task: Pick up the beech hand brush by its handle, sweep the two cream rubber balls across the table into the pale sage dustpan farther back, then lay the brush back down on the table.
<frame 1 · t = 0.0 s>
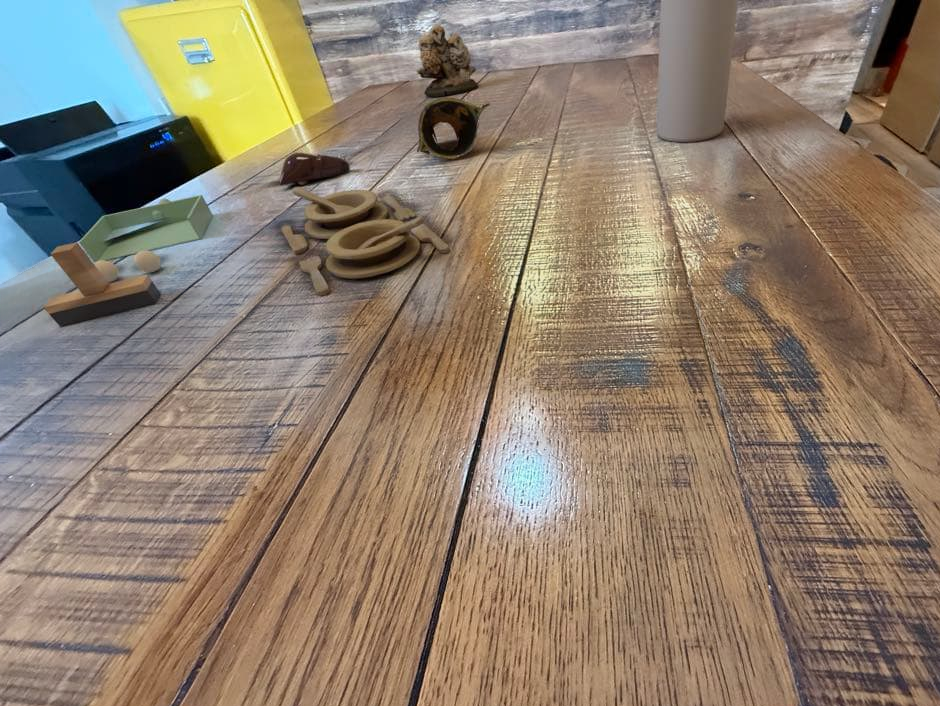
cylinder vase: (689, 134, 99), on the table
ball a: (147, 261, 77), point 2 cm above the table
owl figurine: (450, 92, 159), on the table
ball b: (104, 271, 76), point 2 cm above the table
dustpan: (157, 237, 90), on the table
pot: (455, 153, 108), on the table
tableware set: (362, 241, 78), on the table
brush: (112, 309, 70), on the table
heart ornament: (319, 179, 105), on the table
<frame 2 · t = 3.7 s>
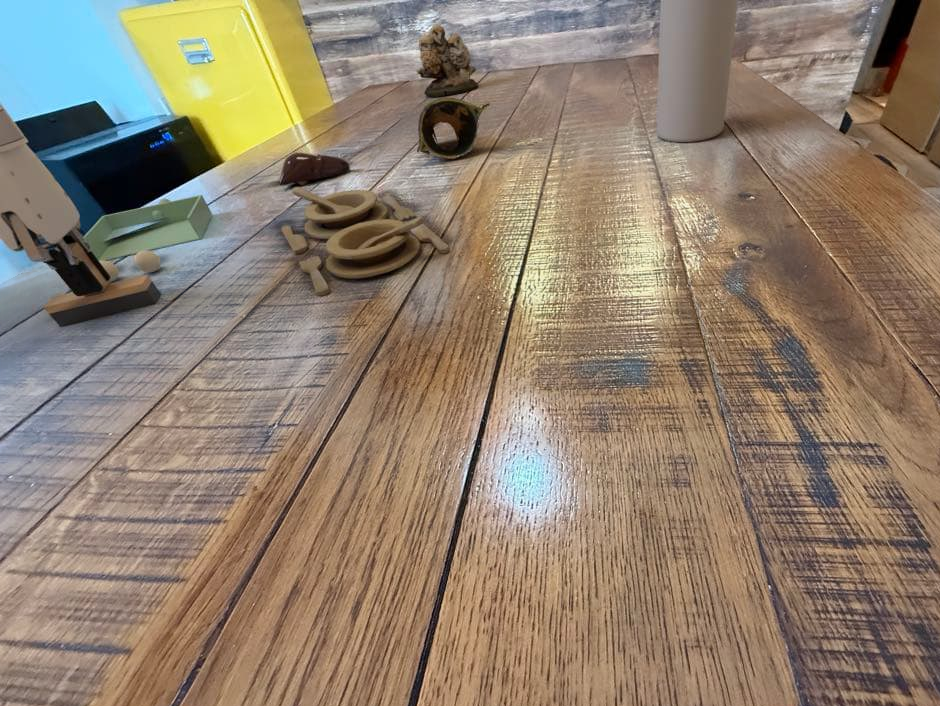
hand: (93, 286, 68), 4 cm above the table, tool pointing down, fingers closed on brush, 2 cm apart
brush: (112, 309, 70), on the table, touching gripper
everything else where it was.
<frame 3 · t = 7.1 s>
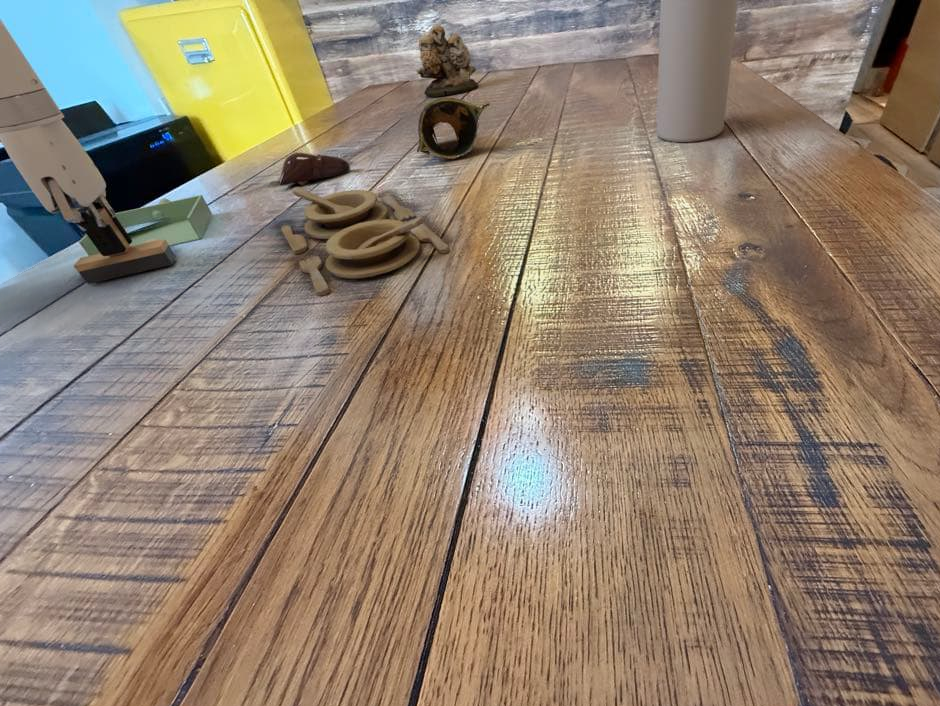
hand: (117, 248, 76), 4 cm above the table, tool pointing down, fingers closed on brush, 2 cm apart
ball a: (156, 249, 81), point 2 cm above the table, tilted 164°
ball b: (115, 257, 80), point 2 cm above the table, tilted 179°
brush: (133, 270, 79), on the table, touching gripper
everything else where it was.
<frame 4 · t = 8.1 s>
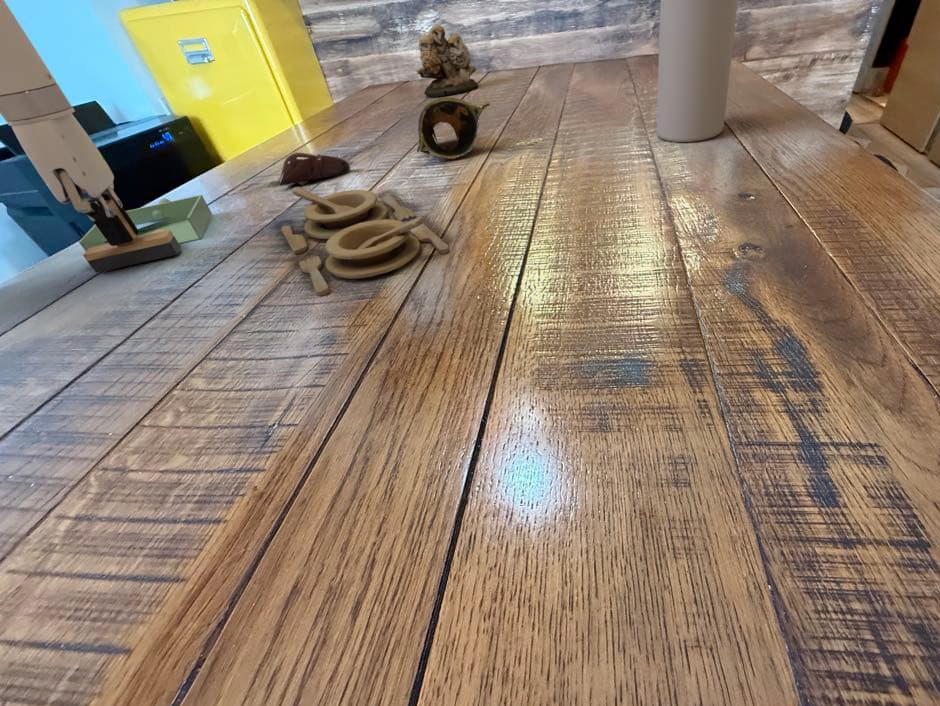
hand: (125, 238, 79), 4 cm above the table, tool pointing down, fingers closed on brush, 2 cm apart
ball a: (163, 239, 84), point 2 cm above the table, tilted 46°
ball b: (123, 247, 83), point 2 cm above the table, tilted 31°
brush: (139, 259, 82), on the table, touching gripper
everything else where it was.
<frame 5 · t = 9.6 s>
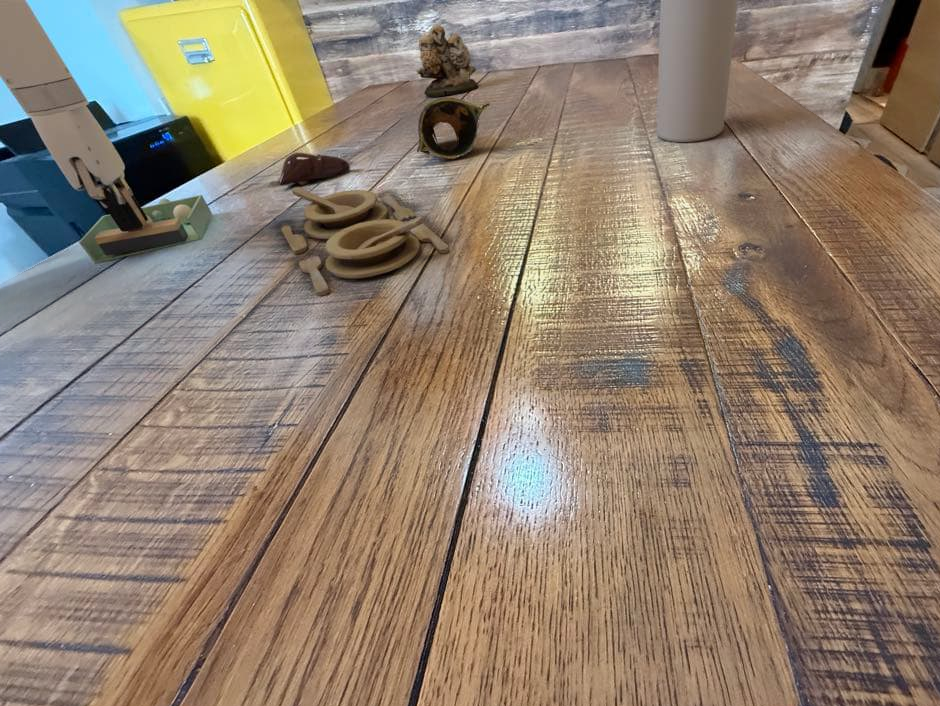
hand: (135, 225, 84), 4 cm above the table, tool pointing down, fingers closed on brush, 2 cm apart
ball a: (184, 214, 92), point 2 cm above the table, tilted 7°, touching dustpan
ball b: (142, 222, 91), point 2 cm above the table, tilted 16°, touching dustpan
brush: (148, 245, 86), point 1 cm above the table, touching gripper
everything else where it was.
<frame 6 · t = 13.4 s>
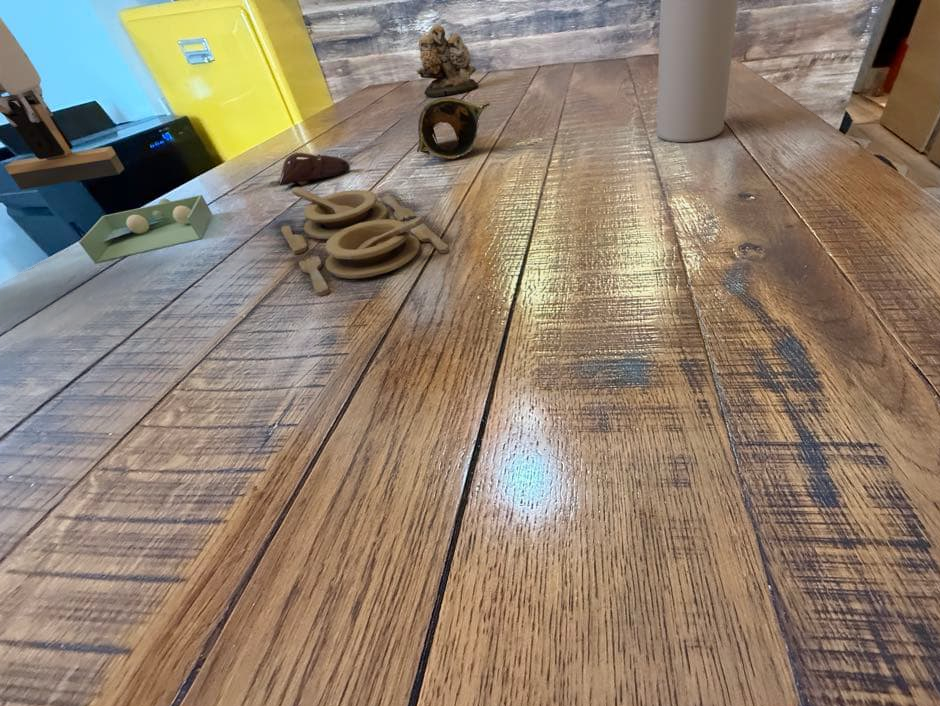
hand: (55, 152, 69), 17 cm above the table, tool pointing down, fingers closed on brush, 2 cm apart
ball a: (183, 215, 92), point 2 cm above the table, tilted 24°, touching dustpan
ball b: (137, 224, 91), point 2 cm above the table, tilted 34°, touching dustpan
brush: (74, 178, 71), point 14 cm above the table, touching gripper
everything else where it was.
when the fingers open (4 cm above the table, at t = 16.6 s): brush stays where it is, on the table.
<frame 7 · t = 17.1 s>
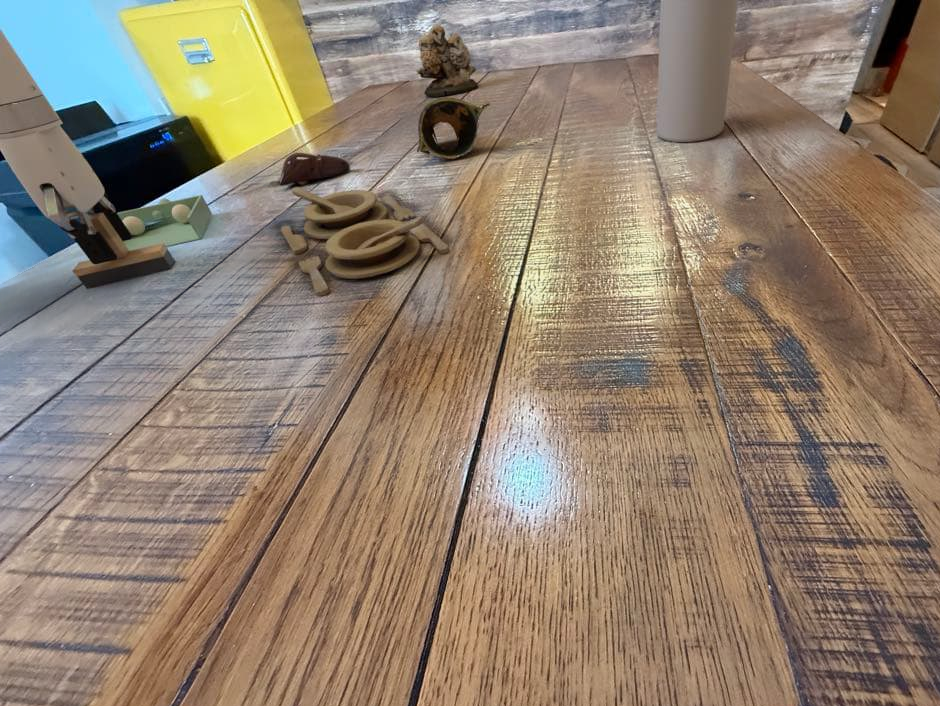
hand: (113, 249, 76), 4 cm above the table, tool pointing down, fingers open, 7 cm apart
ball a: (182, 213, 92), point 2 cm above the table, tilted 15°, touching dustpan
ball b: (133, 225, 90), point 2 cm above the table, tilted 58°, touching dustpan
brush: (132, 274, 78), on the table
everything else where it was.
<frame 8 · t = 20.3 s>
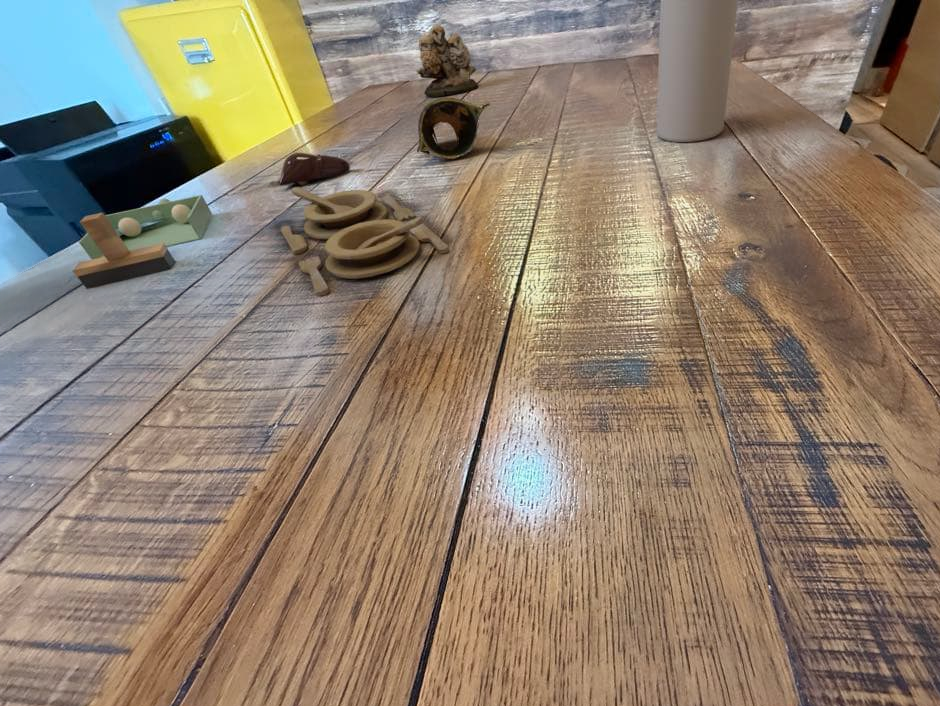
ball b: (130, 227, 90), point 2 cm above the table, tilted 79°, touching dustpan
everything else where it was.
at the end: ball a inside the target area in the dustpan (5.2 cm from its centre), point 1.8 cm above the dustpan's base; ball b inside the target area in the dustpan (4.9 cm from its centre), point 1.8 cm above the dustpan's base; the gripper is holding nothing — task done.
